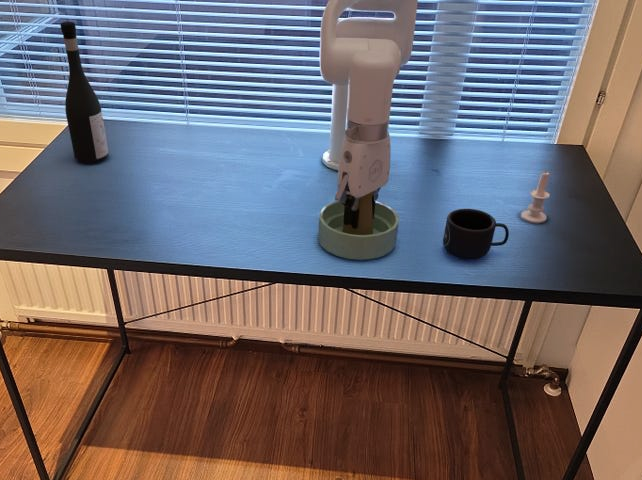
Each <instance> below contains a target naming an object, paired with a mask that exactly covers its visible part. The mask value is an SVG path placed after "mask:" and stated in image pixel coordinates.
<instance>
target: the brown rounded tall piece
mask: <svg viewBox="0 0 642 480" xmlns="http://www.w3.org/2000/svg"><path fill="white" fill-rule="evenodd" d="M374 193H375V191H373V192H371V193H369V194H367V195H365V196H362V197H360V198H359V203H358V208H357V209H359V221H358V228H356V229H353V228H352V226H351V224H350V225H345V224H344V225H343V230H342V232H343V233H348V234H353V235H372V234H373V216H372V196H373V195H374ZM353 198H354V197H353V196H351V195H350V199H351V200H352V201H353Z"/></svg>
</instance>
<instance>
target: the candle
mask: <svg viewBox="0 0 642 480" xmlns="http://www.w3.org/2000/svg"><path fill="white" fill-rule="evenodd" d="M549 175H550V173H549V172H547V171H545V172H542V173H541V174H540V177H539V180H538V184H537V187H536V189H533V190H530V192H529V195H531V197H532V200H531V203H530V204H528V206H527V209H526V210H523V211H522V212H521V213H520V219H521V220H522V221H524V222H527V223H529V224H538V225H539V224H543V223H545V222H546V221H547V218H548V217H547V215H546V213H544V210H545V207H544V206H543V205H544V200H546V199H549V198H550V193H549V192H547V191H546V189H547V186H548V181H549Z"/></svg>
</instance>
